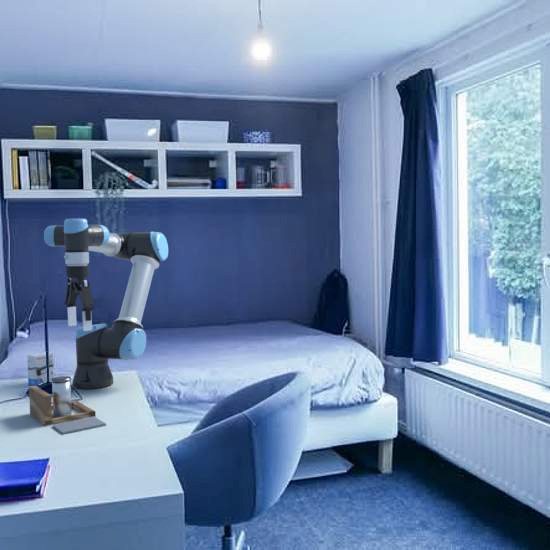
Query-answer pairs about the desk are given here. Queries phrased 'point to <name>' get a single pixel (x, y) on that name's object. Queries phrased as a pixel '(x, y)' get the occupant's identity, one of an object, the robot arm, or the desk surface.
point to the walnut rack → (43, 408)
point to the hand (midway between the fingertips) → (79, 328)
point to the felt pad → (79, 425)
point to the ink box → (39, 368)
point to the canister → (61, 396)
